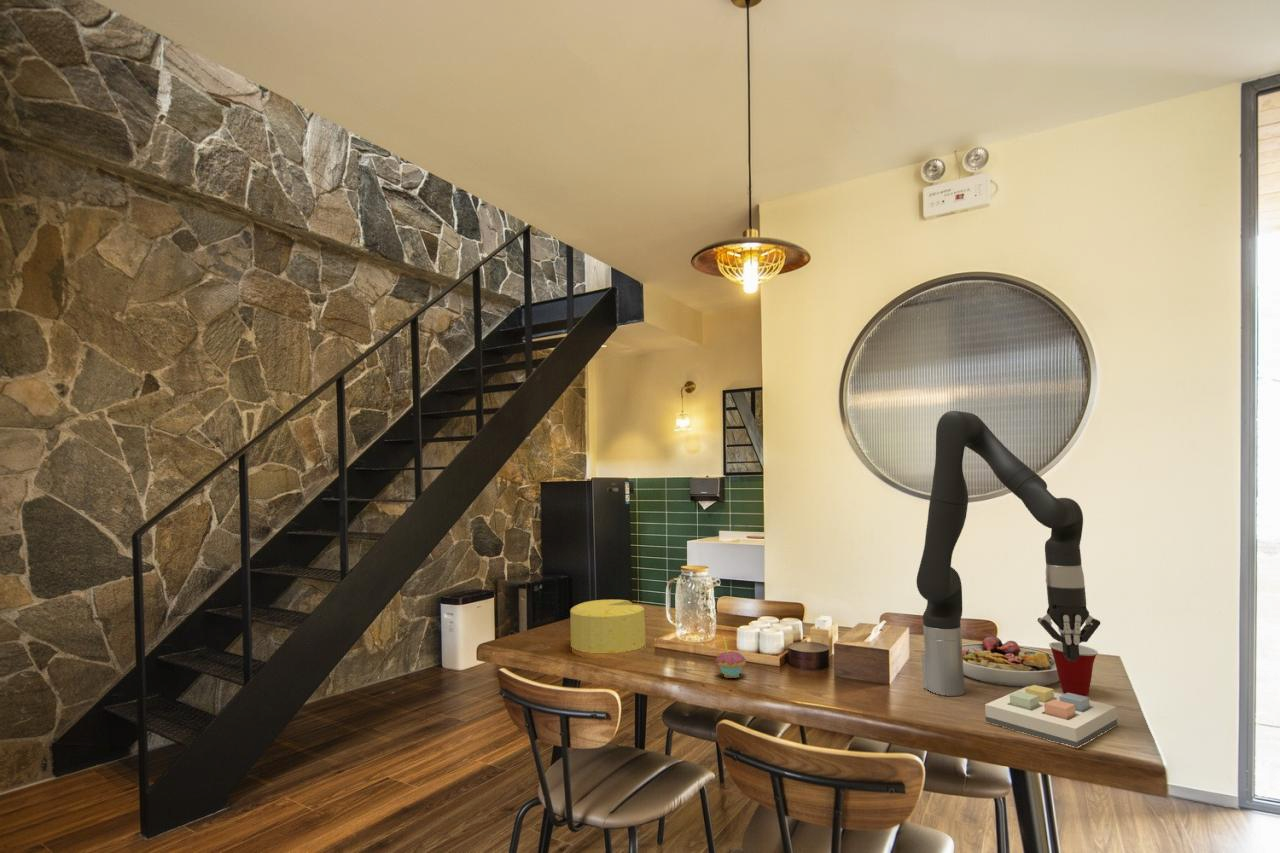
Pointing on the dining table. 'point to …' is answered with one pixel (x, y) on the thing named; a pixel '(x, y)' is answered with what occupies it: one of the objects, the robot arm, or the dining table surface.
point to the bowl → (1008, 663)
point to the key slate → (1076, 701)
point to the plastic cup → (1074, 669)
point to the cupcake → (730, 661)
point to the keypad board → (1053, 720)
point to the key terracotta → (1060, 709)
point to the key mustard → (1041, 693)
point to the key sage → (1024, 700)
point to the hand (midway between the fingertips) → (1071, 660)
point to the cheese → (607, 626)
